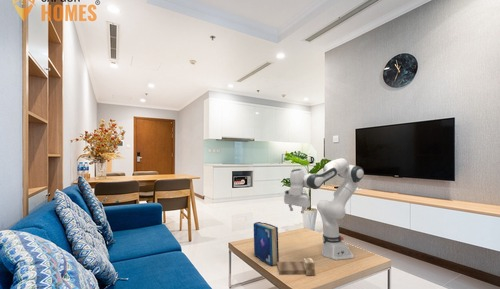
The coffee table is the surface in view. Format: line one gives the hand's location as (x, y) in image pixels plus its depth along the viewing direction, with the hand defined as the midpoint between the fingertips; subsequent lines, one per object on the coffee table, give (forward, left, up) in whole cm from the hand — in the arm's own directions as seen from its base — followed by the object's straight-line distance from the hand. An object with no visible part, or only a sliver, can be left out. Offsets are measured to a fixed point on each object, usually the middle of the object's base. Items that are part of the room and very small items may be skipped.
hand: (296, 212), depth 163 cm
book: (+22, -5, -35) cm, 41 cm away
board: (+4, +10, -35) cm, 36 cm away
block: (-4, +15, -34) cm, 37 cm away
